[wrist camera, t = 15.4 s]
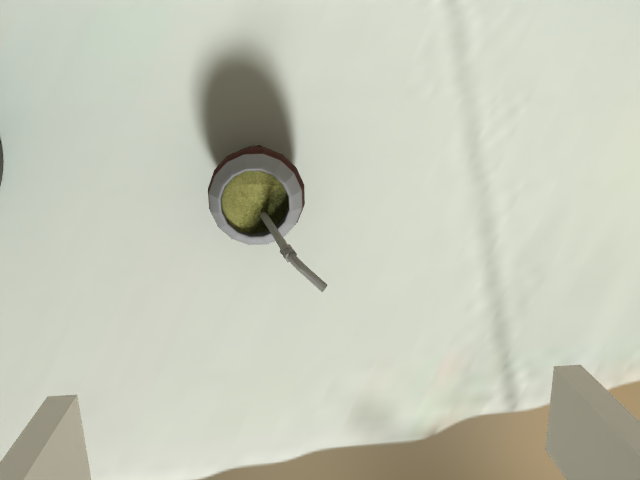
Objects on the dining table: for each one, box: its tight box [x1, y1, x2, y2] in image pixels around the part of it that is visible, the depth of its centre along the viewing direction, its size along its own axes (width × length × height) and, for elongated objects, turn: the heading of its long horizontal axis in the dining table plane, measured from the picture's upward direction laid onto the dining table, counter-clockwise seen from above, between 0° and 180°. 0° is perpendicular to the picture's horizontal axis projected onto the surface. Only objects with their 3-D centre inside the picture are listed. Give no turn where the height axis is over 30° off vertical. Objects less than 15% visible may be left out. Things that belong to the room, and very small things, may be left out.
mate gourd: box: [208, 146, 327, 292], centre depth 39 cm, size 8×8×15 cm
